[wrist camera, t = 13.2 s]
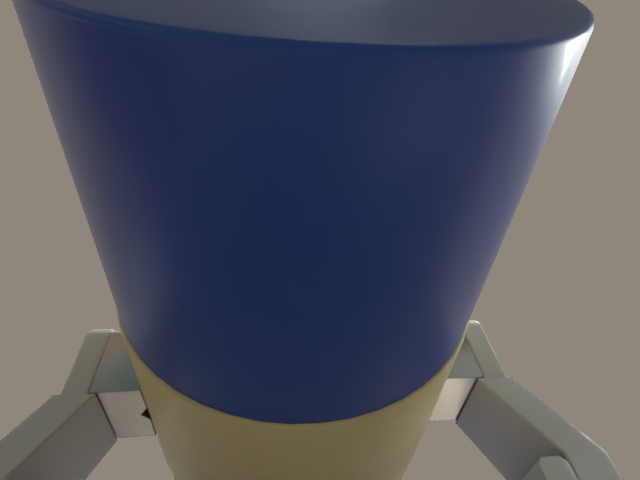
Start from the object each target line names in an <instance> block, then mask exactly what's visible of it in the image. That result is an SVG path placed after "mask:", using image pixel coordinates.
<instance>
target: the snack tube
mask: <svg viewBox="0 0 640 480" xmlns="http://www.w3.org/2000/svg"><path fill="white" fill-rule="evenodd" d="M12 1H13V4H14V7H15V10H16V12H17V15H18V18H19V21H20V24H21V27H22V30H23V33H24V36H25V39H26V42H27V45H28V48H29V50H30V54H31V57H32V59H33V63H34V65H35V68H36V71H37V74H38V77H39V80H40V83H41V86H42V89H43V92H44V95H45V98H46V101H47V104H48V107H49V109H50V112H51V116H52V118H53V121H54V124H55V127H56V130H57V133H58V136H59V139H60V142H61V145H62V148H63V151H64V154H65V157H66V159H67V163H68V166H69V169H70V171H71V174H72V177H73V180H74V183H75V186H76V189H77V192H78V195H79V198H80V201H81V204H82V207H83V210H84V213H85V215H86V219H87V222H88V224H89V227H90V230H91V233H92V236H93V239H94V242H95V245H96V248H97V251H98V254H99V257H100V260H101V263H102V266H103V269H104V272H105V274H106V277H107V280H108V283H109V286H110V289H111V292H112V295H113V298H114V301H115V304H116V311H117V317H118V323H119V327H120V330H121V333H122V336H123V339H124V342H125V344H126V347H127V350H128V353H129V356H130V359H131V362H132V365H133V367H134V370H135V373H136V376H137V379H138V382H139V385H140V388H141V390H142V393H143V396H144V399H145V402H146V405H147V408H148V410H149V413H150V416H151V419H152V422H153V425H154V428H155V431H156V433H157V436H158V439H159V442H160V445H161V448H162V450H163V453H164V456H165V458H166V461H167V464H168V466H169V468H170V469H171V471H172V473H173V475H174V477H175V480H401V478H402V476H403V475H404V473H405V472H406V470H407V468H408V466H409V464H410V462H411V460H412V458H413V456H414V453H415V451H416V449H417V446H418V444H419V442H420V440H421V437H422V435H423V433H424V430H425V428H426V426H427V423H428V421H429V419H430V417H431V414H432V412H433V410H434V408H435V405H436V403H437V401H438V398H439V396H440V394H441V391H442V389H443V387H444V385H445V382H446V380H447V378H448V375H449V373H450V371H451V369H452V366H453V364H454V362H455V359H456V357H457V355H458V353H459V350H460V348H461V346H462V343H463V341H464V338H465V334H466V331H467V327H468V324H469V318H470V316H471V314H472V311H473V309H474V307H475V304H476V302H477V299H478V297H479V295H480V293H481V290H482V288H483V286H484V283H485V281H486V279H487V276H488V274H489V272H490V269H491V267H492V265H493V262H494V260H495V258H496V255H497V253H498V251H499V248H500V246H501V244H502V241H503V239H504V237H505V234H506V232H507V229H508V227H509V225H510V222H511V220H512V218H513V215H514V213H515V211H516V208H517V206H518V204H519V201H520V199H521V197H522V194H523V192H524V189H525V187H526V185H527V183H528V180H529V178H530V176H531V173H532V171H533V169H534V166H535V164H536V162H537V159H538V157H539V154H540V152H541V150H542V147H543V145H544V143H545V141H546V138H547V136H548V134H549V131H550V129H551V127H552V124H553V122H554V120H555V117H556V115H557V113H558V110H559V108H560V106H561V103H562V101H563V99H564V96H565V94H566V92H567V89H568V87H569V85H570V82H571V80H572V78H573V75H574V73H575V70H576V68H577V66H578V64H579V61H580V59H581V57H582V54H583V52H584V50H585V47H586V45H587V43H588V40H589V38H590V35H591V33H592V31H593V28H594V18H593V13H592V12H591V11H590V10H589V9H588V8H587V7H586V6H585V5H583V4H582V3H580V2H579V1H577V0H12Z"/></svg>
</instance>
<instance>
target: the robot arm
mask: <svg viewBox="0 0 640 480" xmlns="http://www.w3.org/2000/svg"><path fill="white" fill-rule="evenodd" d="M432 421H456V424H457V425H458V426H459V427H460V428H461V429H462V430H463V432H464V433H465V434H466V435H467V436H468V437H469V438H470V439H471V440H472V442H473V443H474V444H475V445H476V446H477V447H478V448H479V449H480V451H481V452H482V453H483V454H484V455H485V456H486V457H487V459H488V460H489V461H490V462H491V463H492V464H493V465H494V466H495V467H496V469H497V470H498V471H499V472H500V473H501V474H502V475H503V477H504V478H505V479H506V480H622V478H621V476H620V475H619V473H618V471H617V469H616V468H615V466H614V465H613V463H612V461H611V459H610V458H609V456H608V454H607V453H606V451H605V450H603V449H602V448H601V447H600V446H598V445H597V444H596V443H594V442H593V441H592V440H591V439H589V438H588V437H587V436H586V435H584V434H583V433H582V432H581V431H579V430H578V429H577V428H576V427H574V426H573V425H572V424H571V423H569V422H568V421H567V420H566V419H564V418H563V417H562V416H561V415H559V414H558V413H557V412H556V411H554V410H553V409H552V408H551V407H549V406H548V405H547V404H546V403H544V402H543V401H542V400H540V399H539V398H538V397H537V396H536V395H534V394H533V393H532V392H531V391H529V390H528V389H527V388H526V387H524V386H523V385H522V384H520V383H519V382H518V381H517V380H515V379H514V378H513V377H506V375H505V373H504V371H503V369H502V367H501V365H500V363H499V361H498V359H497V357H496V355H495V353H494V351H493V349H492V347H491V345H490V343H489V341H488V339H487V337H486V334H485V332H484V330H483V328H482V326H481V324H480V323H479V322H477V321H469V324H468V327H467V331H466V334H465V338H464V341H463V343H462V346H461V348H460V350H459V353H458V355H457V357H456V359H455V362H454V364H453V366H452V369H451V371H450V373H449V375H448V378H447V380H446V382H445V385H444V387H443V389H442V391H441V394H440V396H439V398H438V401H437V403H436V405H435V408H434V410H433V412H432V414H431V417H430V419H429V421H428V422H432ZM152 435H156V431H155V428H154V425H153V422H152V419H151V416H150V413H149V410H148V408H147V405H146V402H145V399H144V396H143V393H142V390H141V388H140V385H139V382H138V379H137V376H136V373H135V370H134V367H133V365H132V362H131V359H130V356H129V353H128V350H127V347H126V344H125V342H124V339H123V336H122V333H121V330H120V329H111V330H110V329H109V330H107V329H106V330H90V332H89V333H88V334H87V335H86V336H85V338H84V341H83V343H82V346H81V348H80V350H79V352H78V355H77V357H76V360H75V362H74V364H73V367H72V369H71V372H70V374H69V376H68V378H67V381H66V383H65V385H64V388H63V390H62V393H61V395H53V396H52V397H51V398H49V400H47V401H46V402H45V403H44V404H42V405H41V406H40V407H39V408H38V409H37V410H35V411H34V412H33V413H32V414H31V415H30V416H28V417H27V418H26V419H25V420H24V421H23V422H21V423H20V424H19V425H18V426H17V427H15V428H14V429H13V430H12V431H11V432H10V433H9V434H7V435H6V436H5V437H4V438H3V439H1V440H0V480H85V479H86V478H87V477H88V476H89V474H90V473H91V472H92V471H93V469H94V468H95V467H96V466H97V465H98V463H99V462H100V461H101V460H102V458H103V457H104V456H105V455H106V453H107V452H108V451H109V450H110V448H111V447H112V446H113V445H114V444H115V442H116V441H117V439H116V438H125V437H139V436H152Z"/></svg>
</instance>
